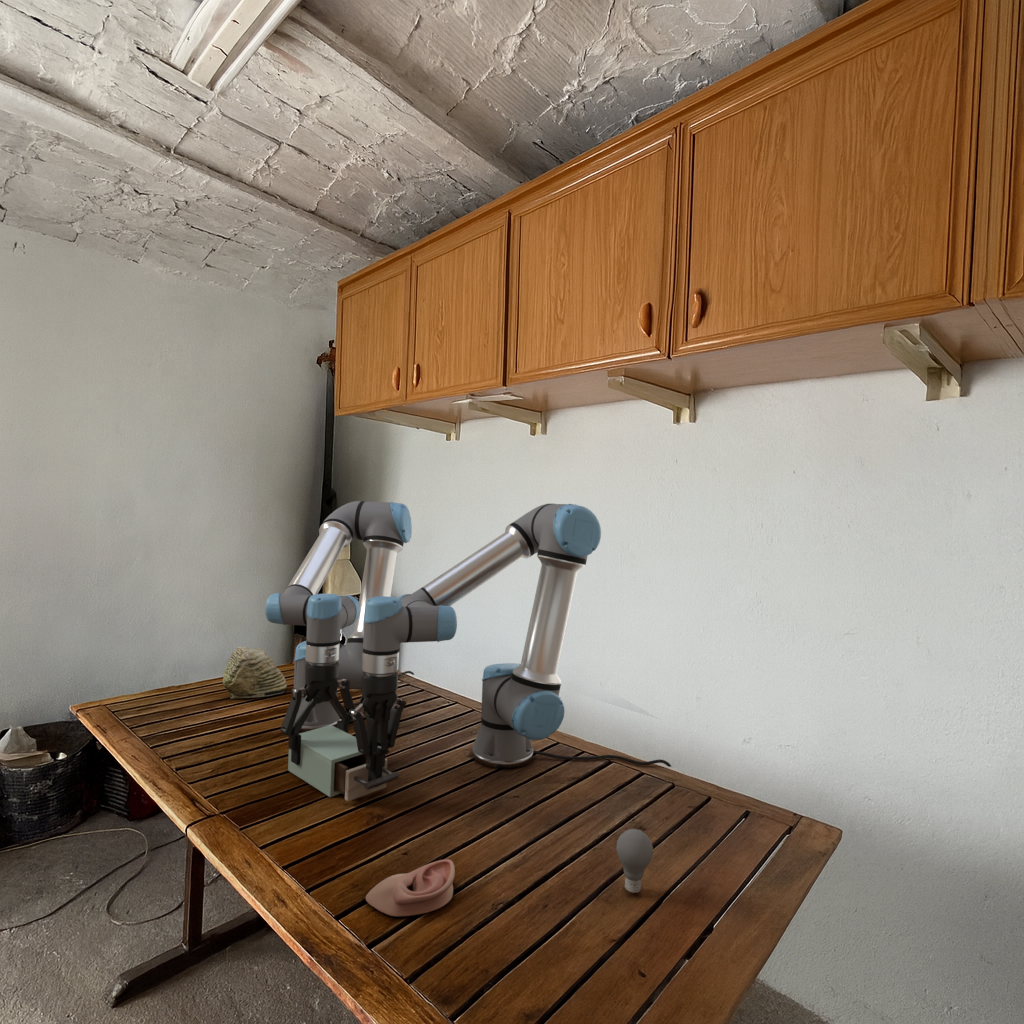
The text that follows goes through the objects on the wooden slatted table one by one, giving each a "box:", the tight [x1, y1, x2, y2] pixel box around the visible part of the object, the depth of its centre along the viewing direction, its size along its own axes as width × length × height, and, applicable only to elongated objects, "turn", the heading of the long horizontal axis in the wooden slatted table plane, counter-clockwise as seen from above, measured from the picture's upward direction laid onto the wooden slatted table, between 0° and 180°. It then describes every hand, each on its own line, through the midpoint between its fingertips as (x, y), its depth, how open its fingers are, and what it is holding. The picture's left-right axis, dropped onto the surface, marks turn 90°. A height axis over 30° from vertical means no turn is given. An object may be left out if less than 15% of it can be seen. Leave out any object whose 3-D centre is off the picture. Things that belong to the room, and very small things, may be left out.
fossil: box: [222, 646, 288, 699], centre depth 198 cm, size 9×18×15 cm, turn 132°
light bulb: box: [615, 828, 654, 894], centre depth 106 cm, size 6×6×10 cm
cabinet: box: [287, 725, 362, 798], centre depth 144 cm, size 18×11×8 cm, turn 48°
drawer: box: [334, 754, 400, 802], centre depth 138 cm, size 22×10×6 cm, turn 48°
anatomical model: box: [365, 858, 456, 918], centre depth 102 cm, size 13×4×12 cm
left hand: (318, 755), depth 147 cm, fingers closed on cabinet, 11 cm apart
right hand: (374, 783), depth 132 cm, fingers closed
